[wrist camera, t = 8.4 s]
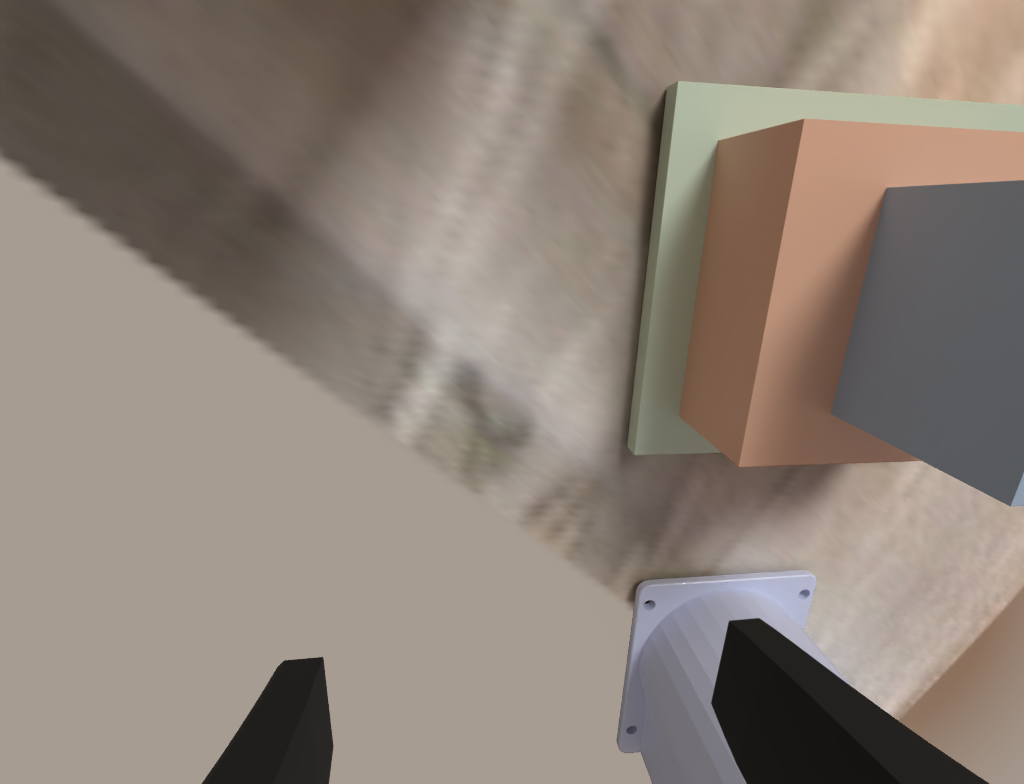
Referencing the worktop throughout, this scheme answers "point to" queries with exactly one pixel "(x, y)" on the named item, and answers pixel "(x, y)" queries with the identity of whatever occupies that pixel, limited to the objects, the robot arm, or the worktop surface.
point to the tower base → (687, 214)
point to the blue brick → (944, 333)
